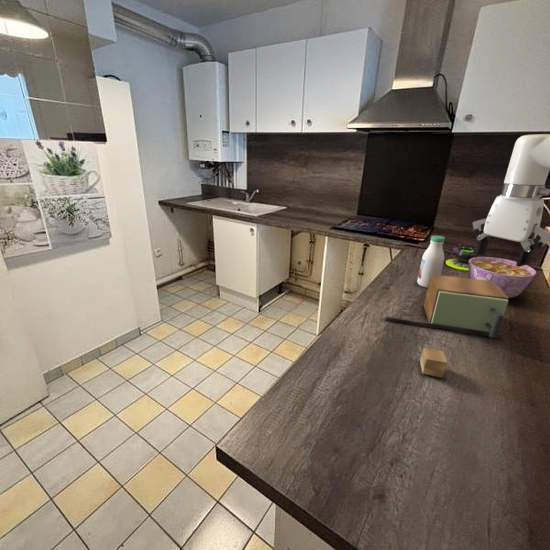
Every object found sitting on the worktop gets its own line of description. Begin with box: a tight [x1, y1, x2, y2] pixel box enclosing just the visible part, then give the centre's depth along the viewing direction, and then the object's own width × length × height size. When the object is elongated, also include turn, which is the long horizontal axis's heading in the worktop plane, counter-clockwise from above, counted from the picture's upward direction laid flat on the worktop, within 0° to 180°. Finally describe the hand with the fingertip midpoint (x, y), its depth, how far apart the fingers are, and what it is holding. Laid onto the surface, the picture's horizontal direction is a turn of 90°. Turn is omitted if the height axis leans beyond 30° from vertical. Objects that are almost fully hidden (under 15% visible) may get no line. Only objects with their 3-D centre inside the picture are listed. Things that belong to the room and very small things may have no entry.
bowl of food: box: [468, 256, 537, 299], centre depth 108 cm, size 20×20×12 cm
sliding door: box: [431, 291, 509, 339], centre depth 83 cm, size 17×7×11 cm, turn 72°
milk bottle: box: [416, 235, 446, 289], centre depth 114 cm, size 8×8×20 cm
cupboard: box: [385, 274, 510, 339], centre depth 92 cm, size 31×14×12 cm, turn 72°
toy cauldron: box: [445, 241, 481, 272], centre depth 137 cm, size 15×15×11 cm
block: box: [419, 347, 448, 378], centre depth 71 cm, size 4×4×4 cm
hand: (499, 259), depth 76 cm, fingers open, 9 cm apart
